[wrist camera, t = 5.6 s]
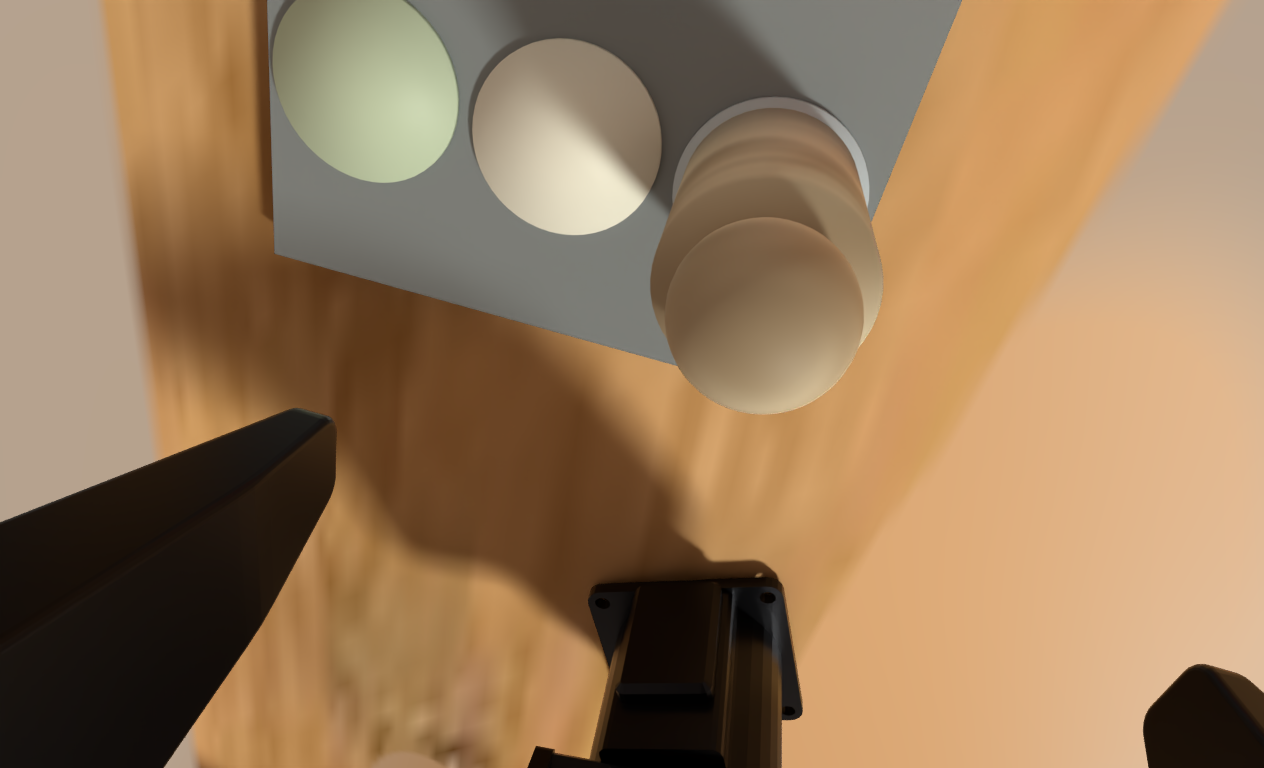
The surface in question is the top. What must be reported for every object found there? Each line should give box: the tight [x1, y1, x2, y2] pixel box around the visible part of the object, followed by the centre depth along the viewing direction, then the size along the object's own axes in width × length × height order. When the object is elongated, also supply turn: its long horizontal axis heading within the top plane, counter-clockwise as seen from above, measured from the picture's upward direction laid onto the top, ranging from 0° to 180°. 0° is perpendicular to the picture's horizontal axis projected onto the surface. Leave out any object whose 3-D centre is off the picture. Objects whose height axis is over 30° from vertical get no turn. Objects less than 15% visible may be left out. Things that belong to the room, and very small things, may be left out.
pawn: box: [650, 108, 883, 414], centre depth 15 cm, size 4×4×8 cm
